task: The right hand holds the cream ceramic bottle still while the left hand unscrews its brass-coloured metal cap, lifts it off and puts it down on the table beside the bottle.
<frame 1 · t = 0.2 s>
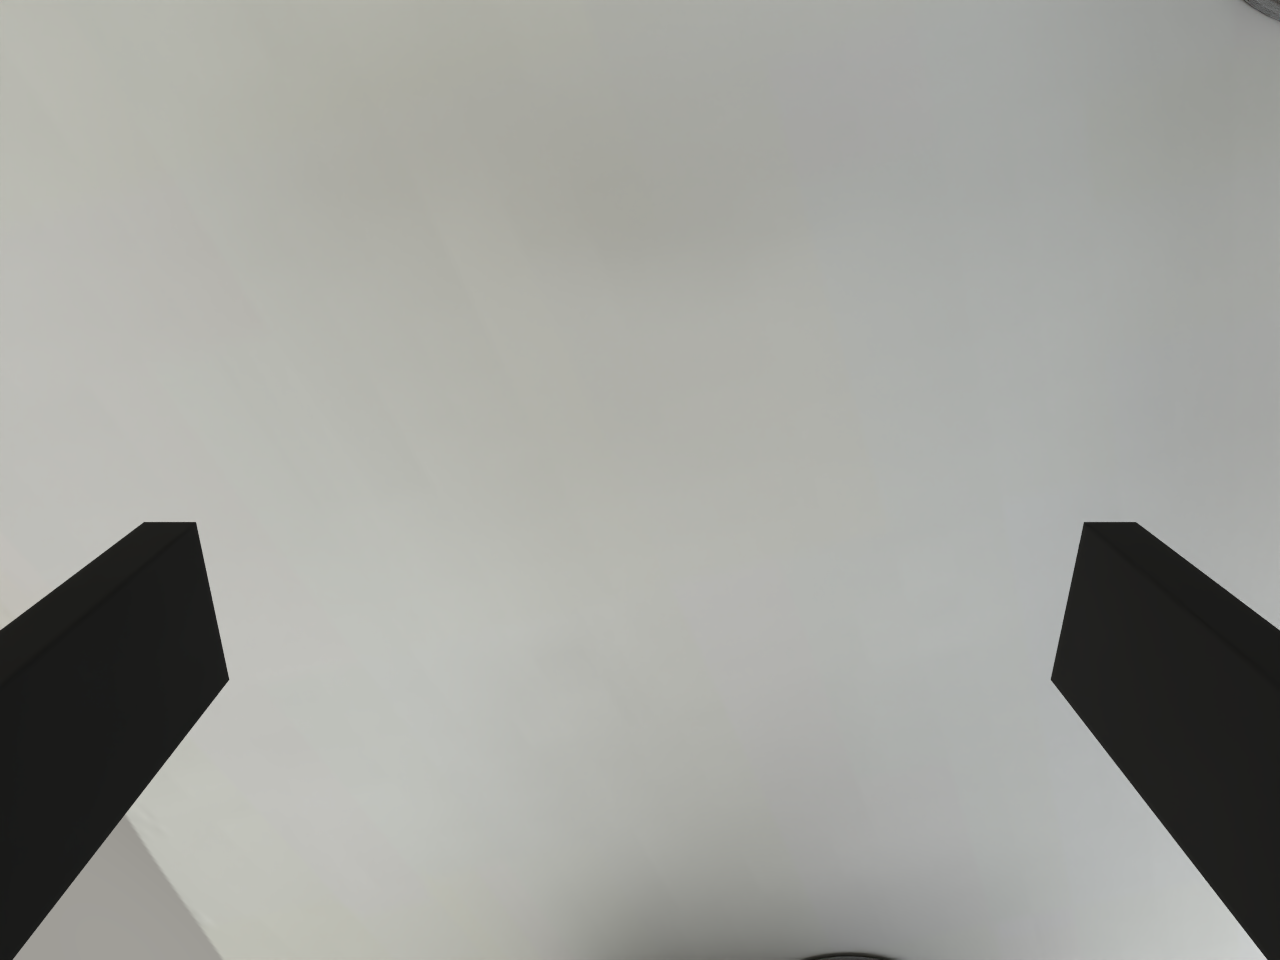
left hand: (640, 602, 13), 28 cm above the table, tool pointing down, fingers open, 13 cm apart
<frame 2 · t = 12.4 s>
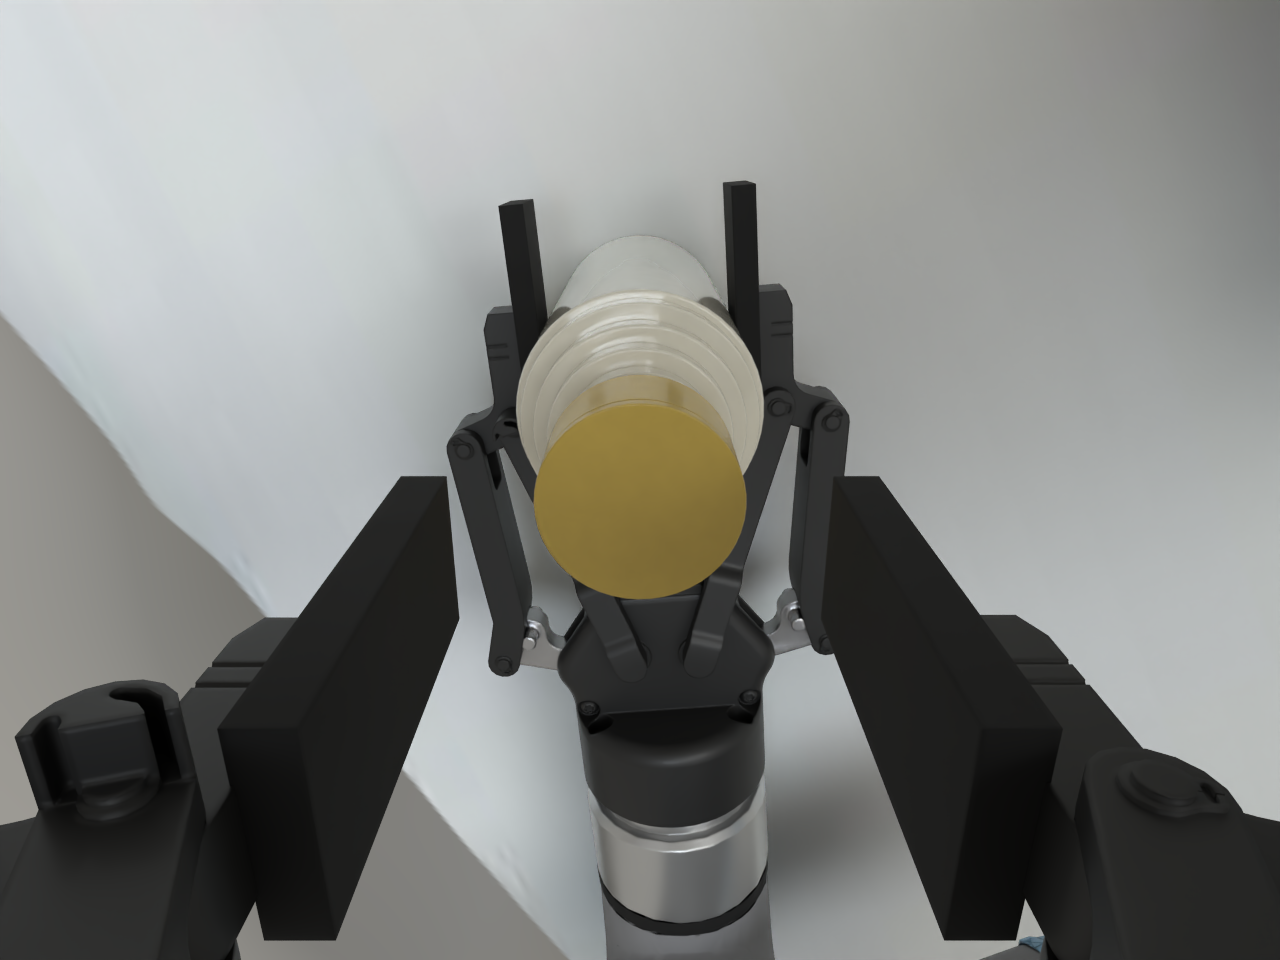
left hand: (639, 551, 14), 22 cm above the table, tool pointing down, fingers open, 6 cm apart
right hand: (627, 194, 27), fingers closed on bottle, 6 cm apart
bottle: (640, 315, 35), on the table, touching right hand
cap: (640, 500, 16), point 20 cm above the table, screwed on, not yet turned
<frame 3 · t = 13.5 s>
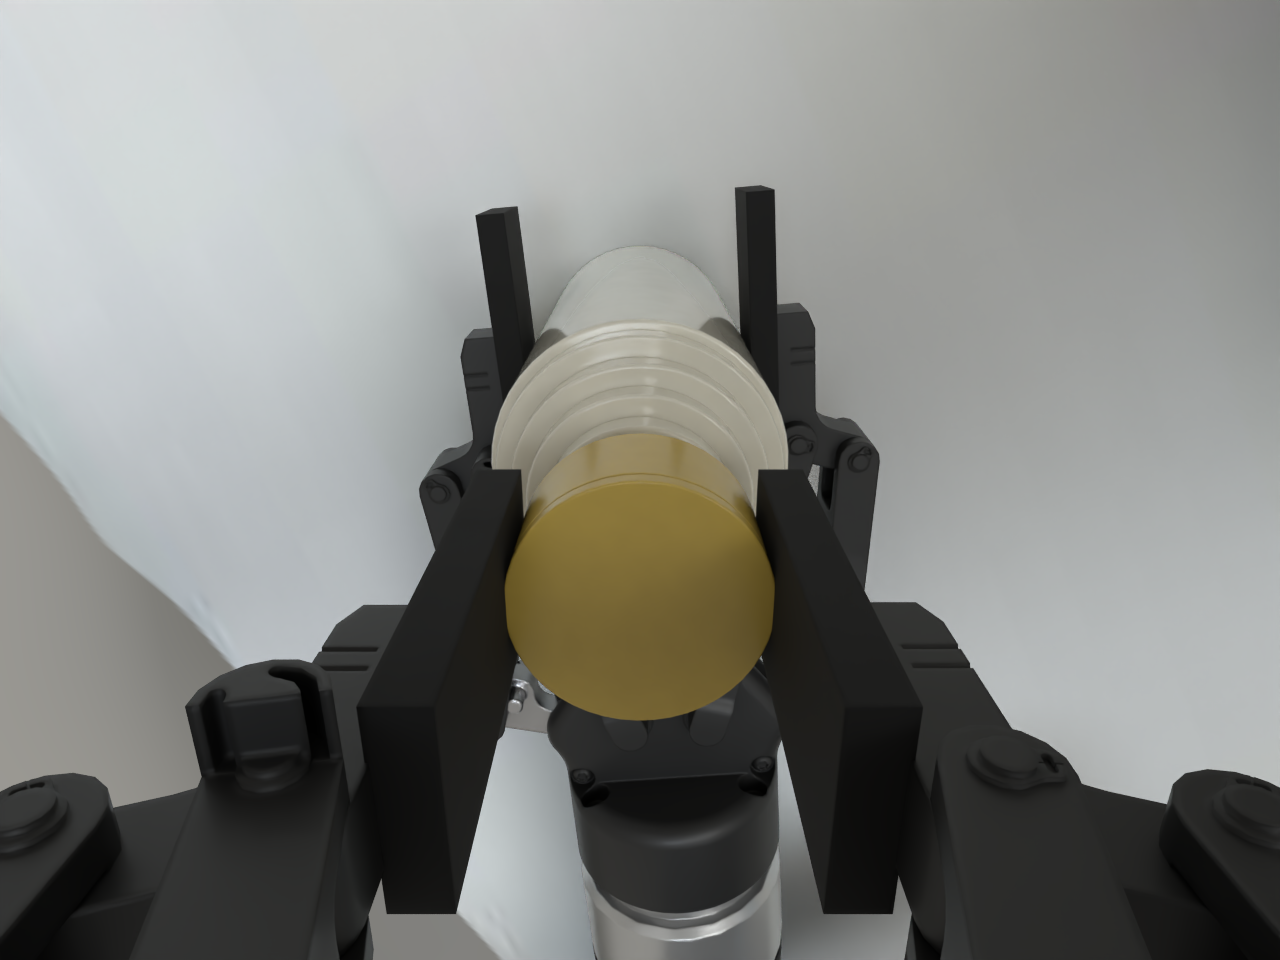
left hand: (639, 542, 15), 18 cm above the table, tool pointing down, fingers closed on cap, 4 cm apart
right hand: (625, 201, 23), fingers closed on bottle, 6 cm apart
bottle: (640, 335, 31), on the table, touching right hand
cap: (639, 598, 13), point 20 cm above the table, screwed on, not yet turned, touching left hand
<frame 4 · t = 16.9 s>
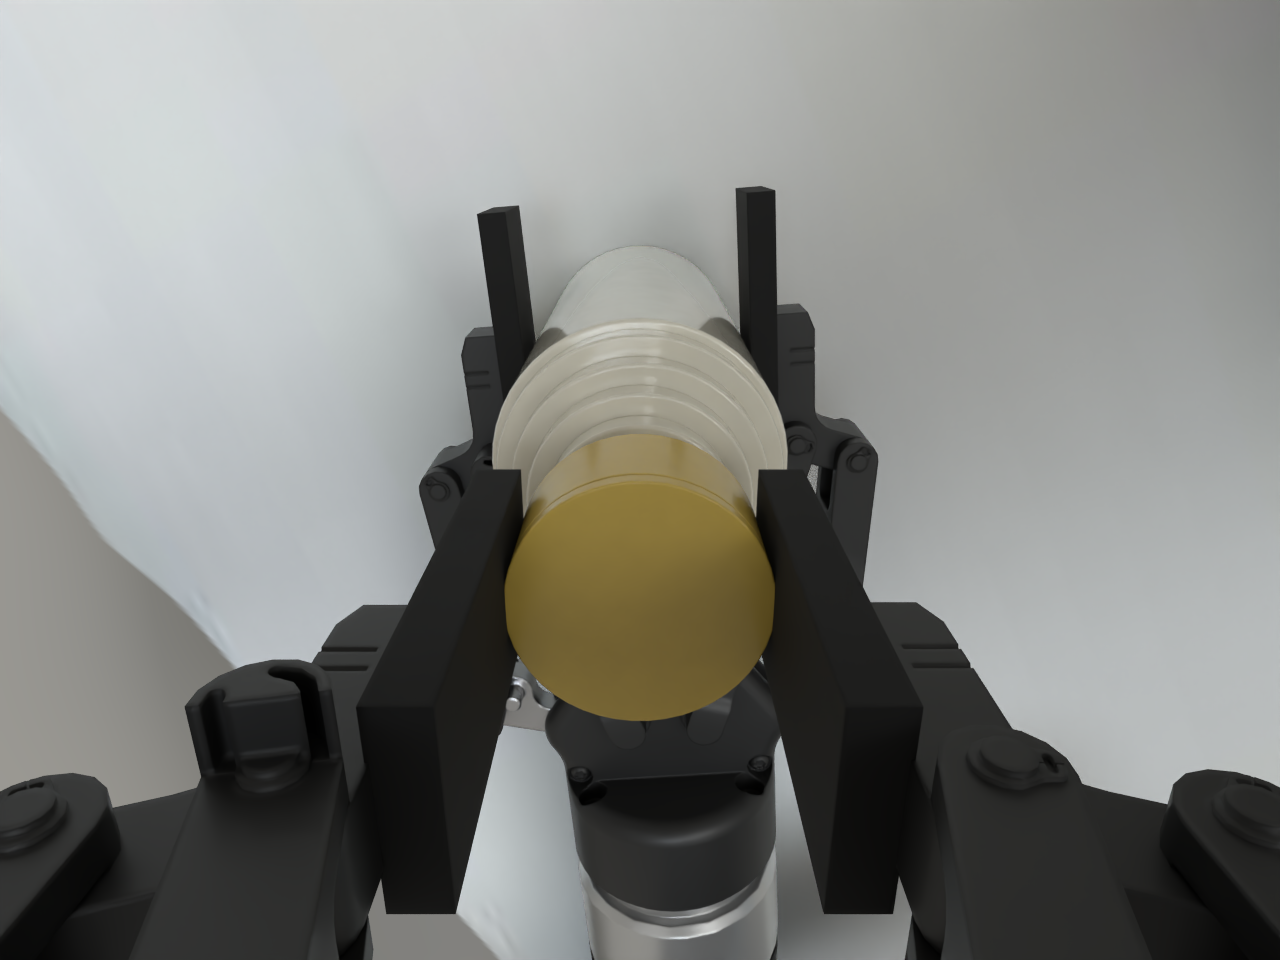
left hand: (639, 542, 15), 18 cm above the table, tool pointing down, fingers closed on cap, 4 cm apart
right hand: (626, 200, 23), fingers closed on bottle, 6 cm apart
bottle: (640, 334, 31), on the table, touching right hand
cap: (639, 598, 13), point 20 cm above the table, turned 103° so far, risen 0.1 cm, still on its thread, touching left hand
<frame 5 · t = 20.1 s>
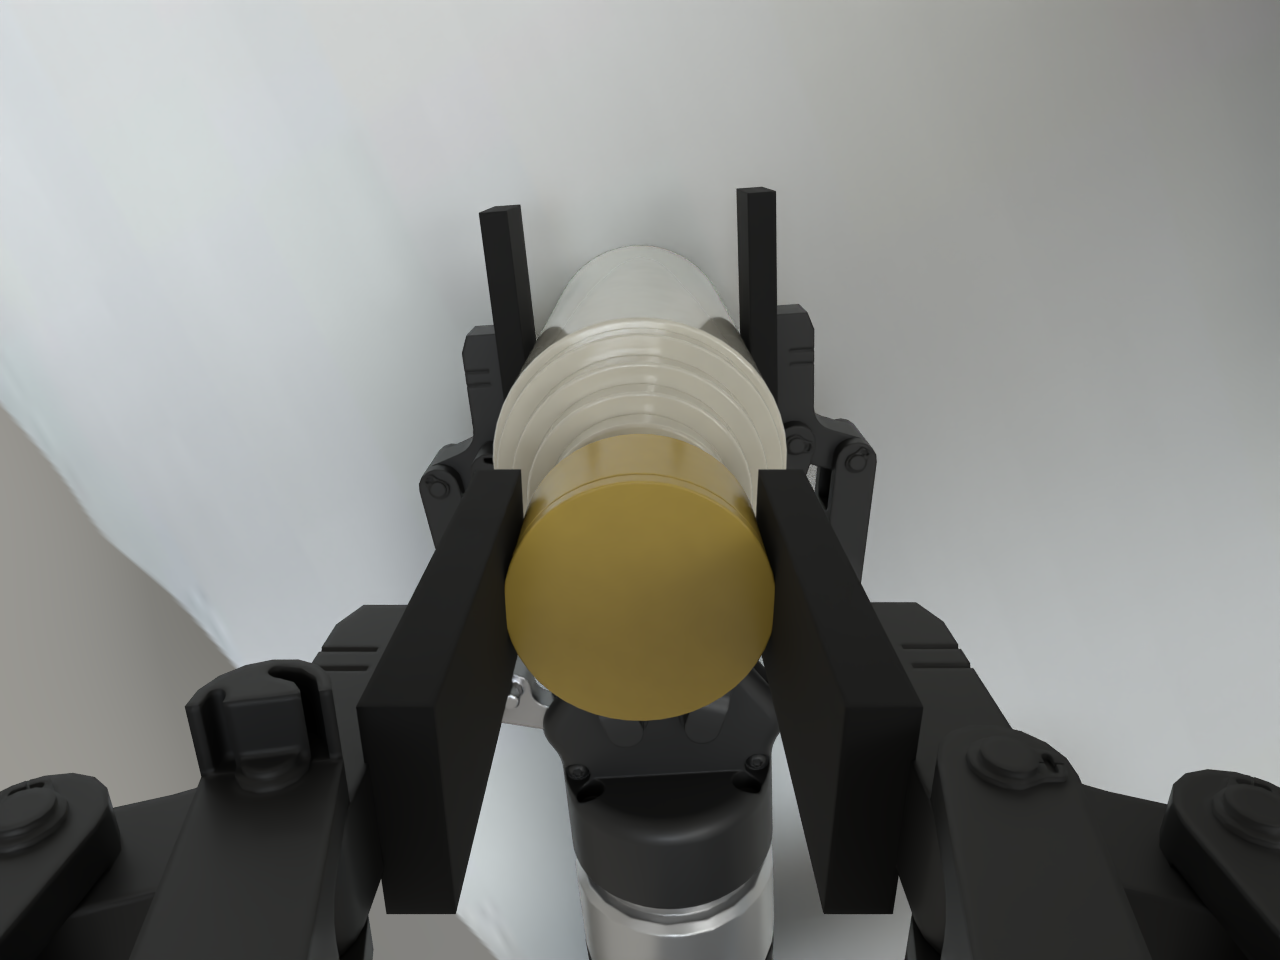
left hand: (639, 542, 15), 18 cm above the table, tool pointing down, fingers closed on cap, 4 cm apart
right hand: (627, 200, 24), fingers closed on bottle, 6 cm apart
bottle: (640, 334, 31), on the table, touching right hand
cap: (639, 598, 13), point 20 cm above the table, turned 206° so far, risen 0.2 cm, still on its thread, touching left hand
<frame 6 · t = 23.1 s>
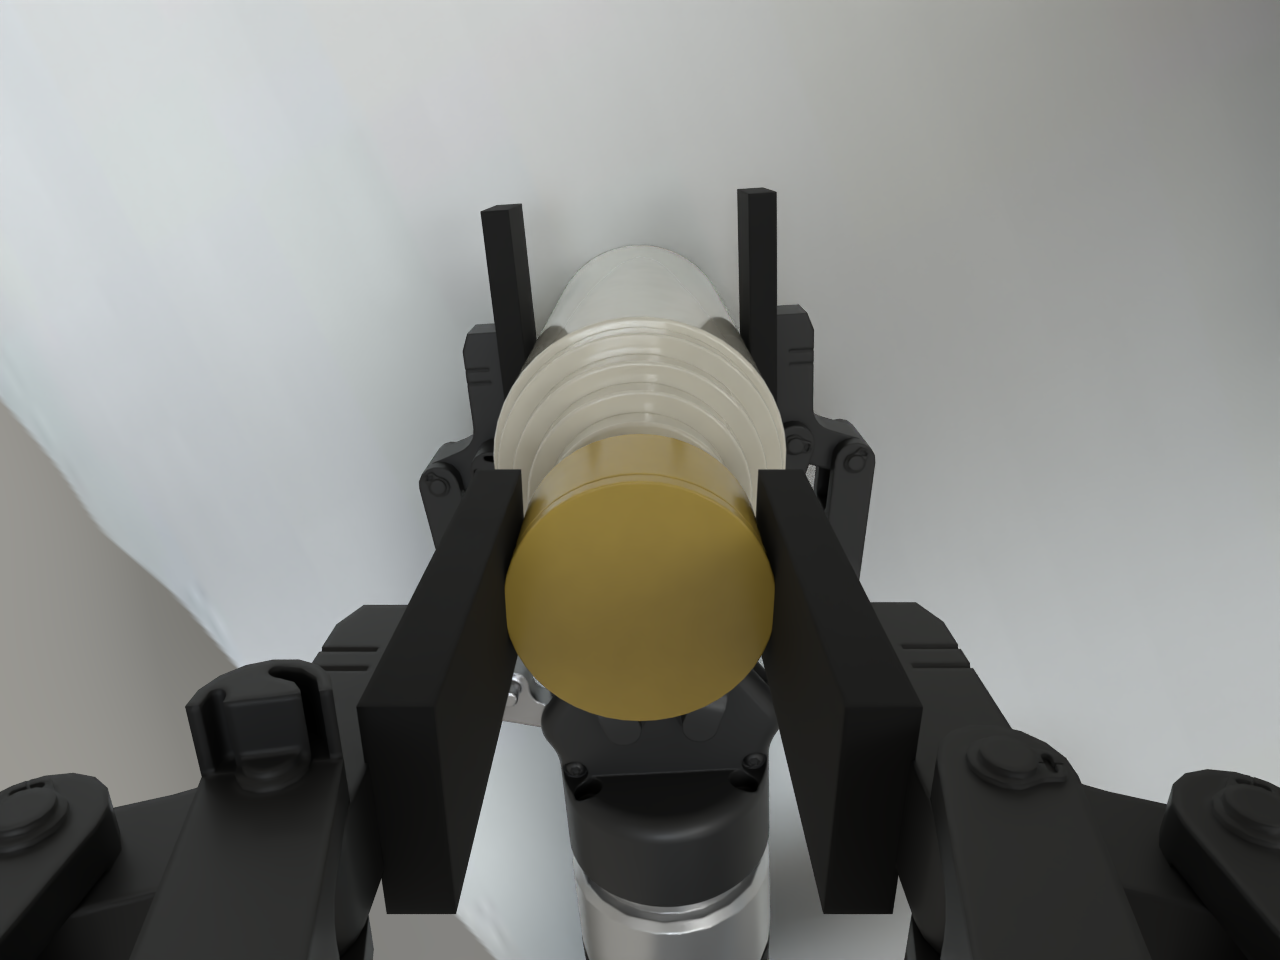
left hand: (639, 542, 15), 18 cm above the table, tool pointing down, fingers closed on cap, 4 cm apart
right hand: (628, 200, 24), fingers closed on bottle, 6 cm apart
bottle: (640, 333, 31), on the table, touching right hand
cap: (639, 598, 13), point 20 cm above the table, turned 309° so far, risen 0.3 cm, still on its thread, touching left hand
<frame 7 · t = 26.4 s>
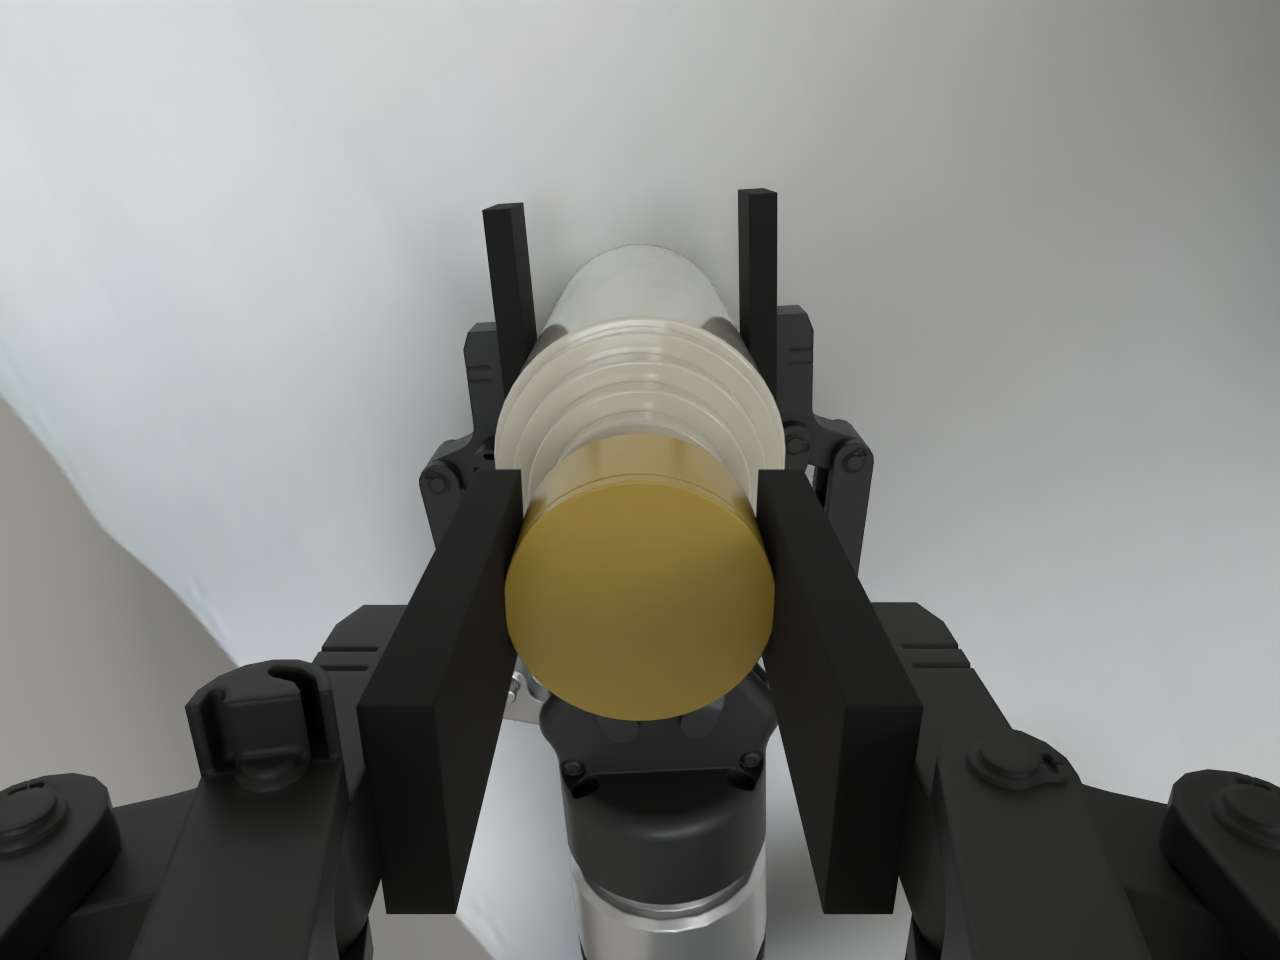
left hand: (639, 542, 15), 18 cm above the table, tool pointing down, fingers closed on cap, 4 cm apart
right hand: (629, 200, 24), fingers closed on bottle, 6 cm apart
bottle: (640, 333, 31), on the table, touching right hand
cap: (639, 598, 13), point 20 cm above the table, turned 413° so far, risen 0.4 cm, still on its thread, touching left hand
when the left hand's fingers open (1 cm above the table, at t = 32.3 s): cap stays where it is, point 2 cm above the table.
when the right hand's fingers open (6 cm above the table, at t = 33.5 s): bottle stays where it is, on the table.
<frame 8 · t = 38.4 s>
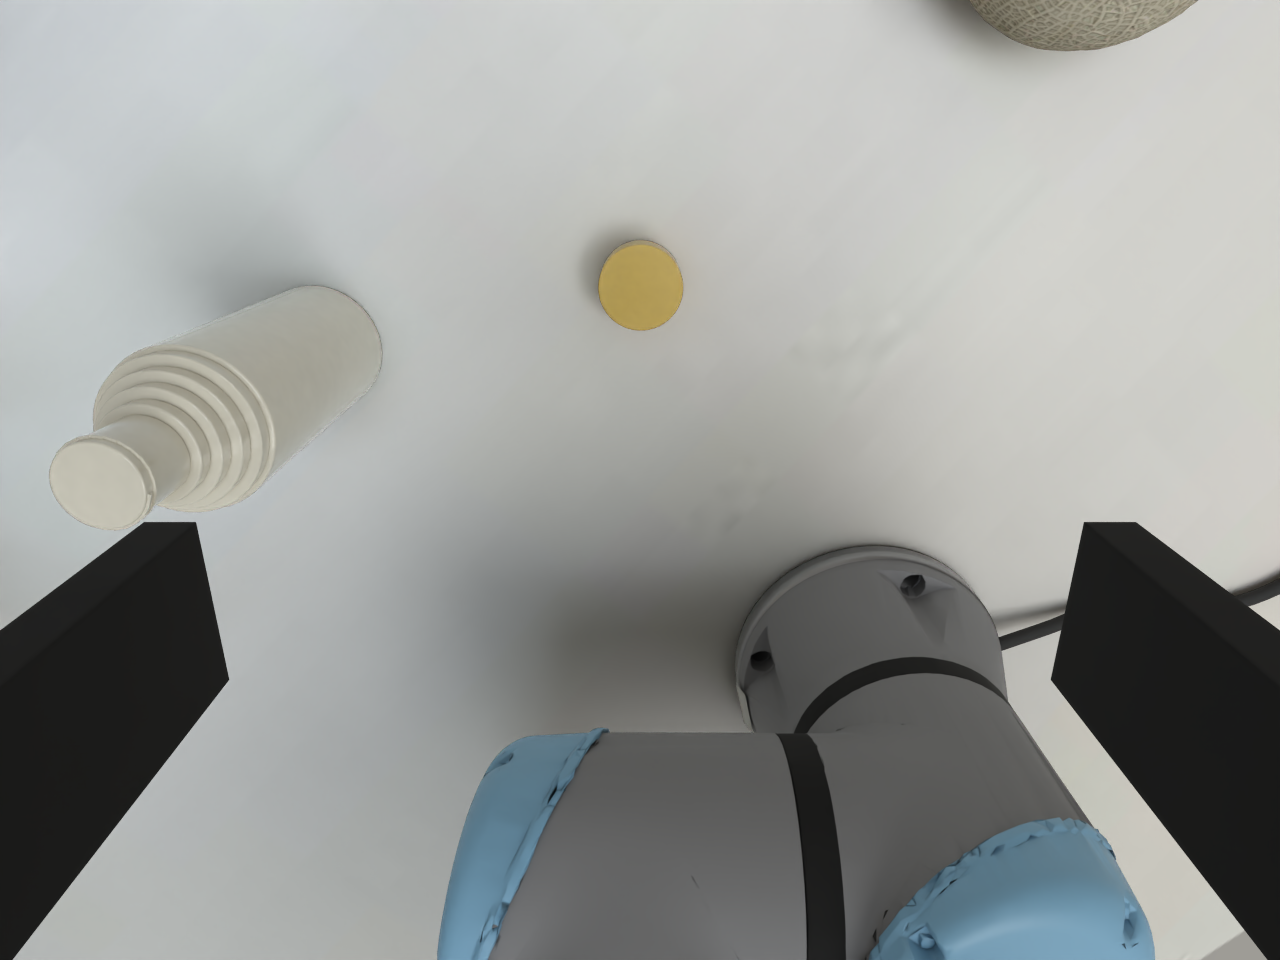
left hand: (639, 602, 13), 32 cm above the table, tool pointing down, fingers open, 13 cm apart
bottle: (320, 347, 44), on the table
cap: (640, 287, 41), point 2 cm above the table, off its thread
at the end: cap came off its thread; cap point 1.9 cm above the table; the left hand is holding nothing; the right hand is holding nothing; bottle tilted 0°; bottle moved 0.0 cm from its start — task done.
